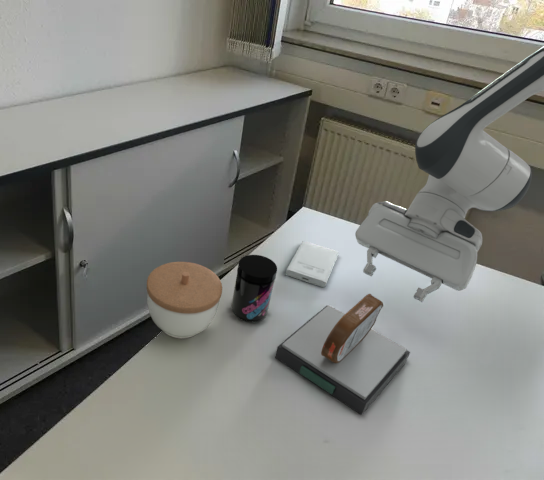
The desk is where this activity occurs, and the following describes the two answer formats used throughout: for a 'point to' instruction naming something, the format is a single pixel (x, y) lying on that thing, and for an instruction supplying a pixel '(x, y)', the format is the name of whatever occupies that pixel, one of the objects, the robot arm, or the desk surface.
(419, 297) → the robot arm
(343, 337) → the tin
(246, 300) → the supplement container
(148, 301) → the lidded bowl
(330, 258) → the hard drive
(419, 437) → the desk surface
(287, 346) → the scale
